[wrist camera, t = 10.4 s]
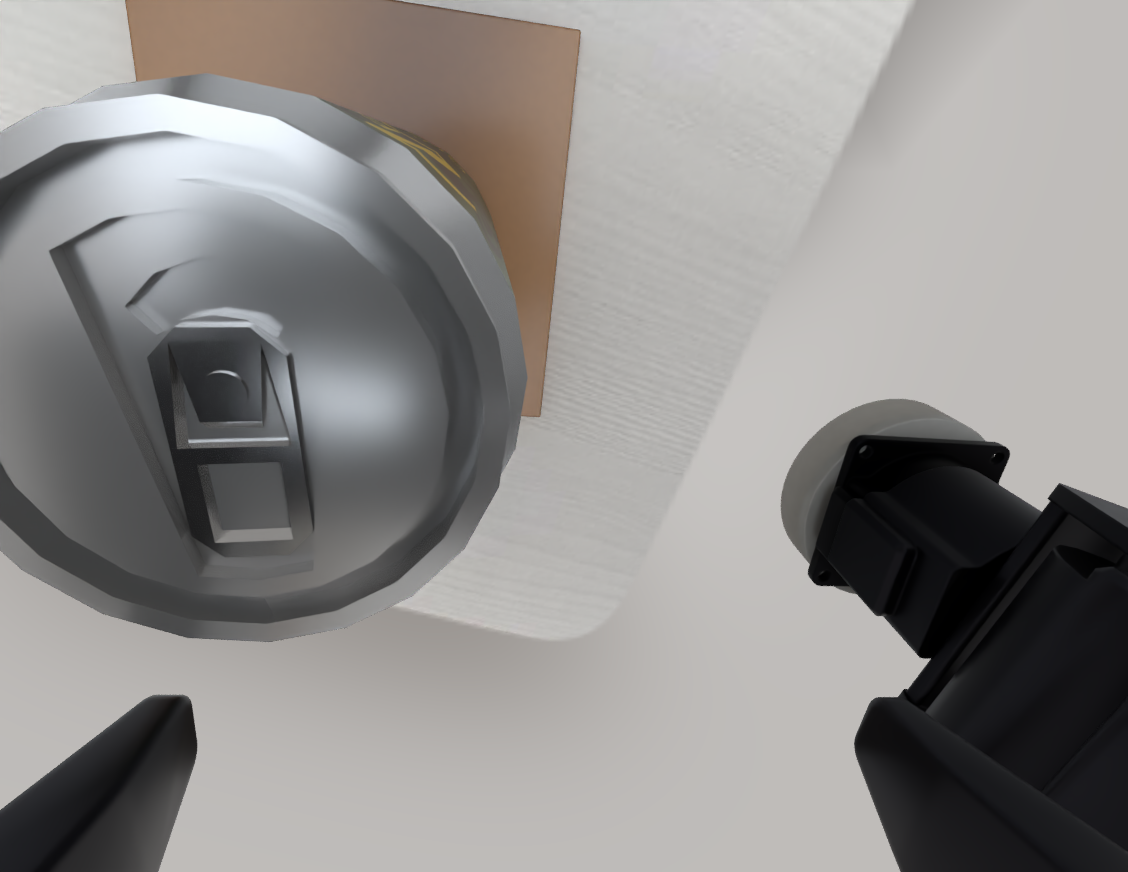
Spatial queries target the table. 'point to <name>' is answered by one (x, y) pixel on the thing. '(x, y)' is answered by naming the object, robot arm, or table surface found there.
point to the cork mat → (410, 101)
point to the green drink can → (245, 357)
